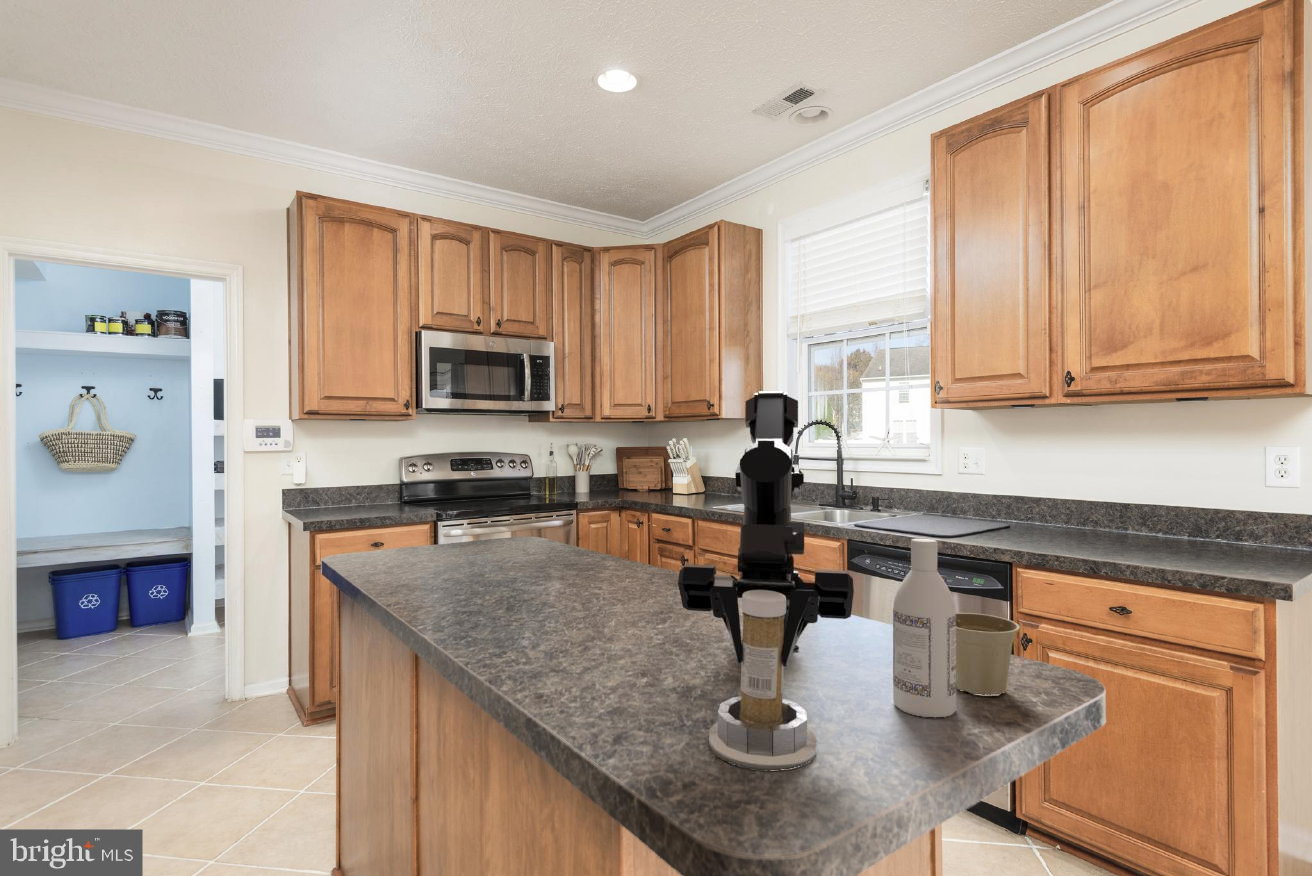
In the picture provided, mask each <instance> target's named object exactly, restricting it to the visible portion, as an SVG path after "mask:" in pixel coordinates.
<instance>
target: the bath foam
mask: <svg viewBox="0 0 1312 876" xmlns="http://www.w3.org/2000/svg"><path fill="white" fill-rule="evenodd" d="M910 566H911V568H910V571H908V572H907V574H906V576H905V577H904V579H903V580H902V582H900V585H899V587H898V588H897V591H895V596H894V600H893V608H892V618H893V619H892V634H893V635H892V685H893V686H892V687H893V688H892V691H893V692H892V693H893V694H892V698H893V703H894V705H895V706H896V707H897V708H898V709H899V710H900V711H902V712H905V713H906V714H908V715H911V714H912V715H911V716H915V715H917V716H916V717H919V716H923V717H922V718H925V717H935V718H934V719H937V718H936V717H944V718H948V717H950V716H952V715H954V714H955V712H956V709H957V707H956V706H957V689H956V613H957V611H956V609H957V608H956V605H955V600H954V597H953V595H952V593H951V590H950V589H949V587H948V585H947V583H946V582H945V580H944V579H943V577H942V575H940V573H939V570H938V540H937V539H931V538H912V539H911V541H910ZM947 716H948V717H947Z"/></svg>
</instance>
